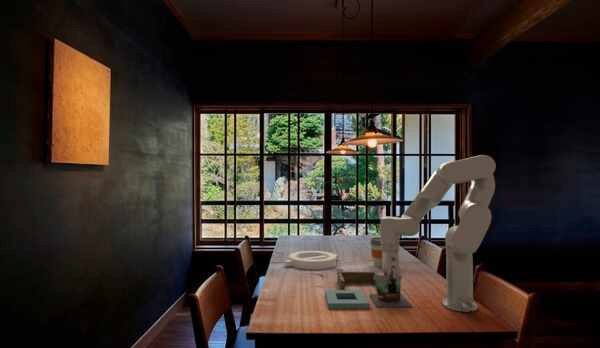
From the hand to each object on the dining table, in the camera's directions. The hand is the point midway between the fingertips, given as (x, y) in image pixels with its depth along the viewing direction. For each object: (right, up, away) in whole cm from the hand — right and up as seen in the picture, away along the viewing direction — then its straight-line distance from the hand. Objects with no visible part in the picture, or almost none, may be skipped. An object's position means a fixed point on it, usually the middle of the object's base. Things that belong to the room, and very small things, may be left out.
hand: (390, 290), depth 143 cm
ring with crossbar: (-30, -6, +64) cm, 70 cm away
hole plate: (-18, -4, 0) cm, 19 cm away
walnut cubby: (-9, -5, +18) cm, 21 cm away
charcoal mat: (0, -4, 0) cm, 4 cm away
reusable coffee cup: (+10, -5, +59) cm, 60 cm away
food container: (0, -4, -1) cm, 4 cm away
